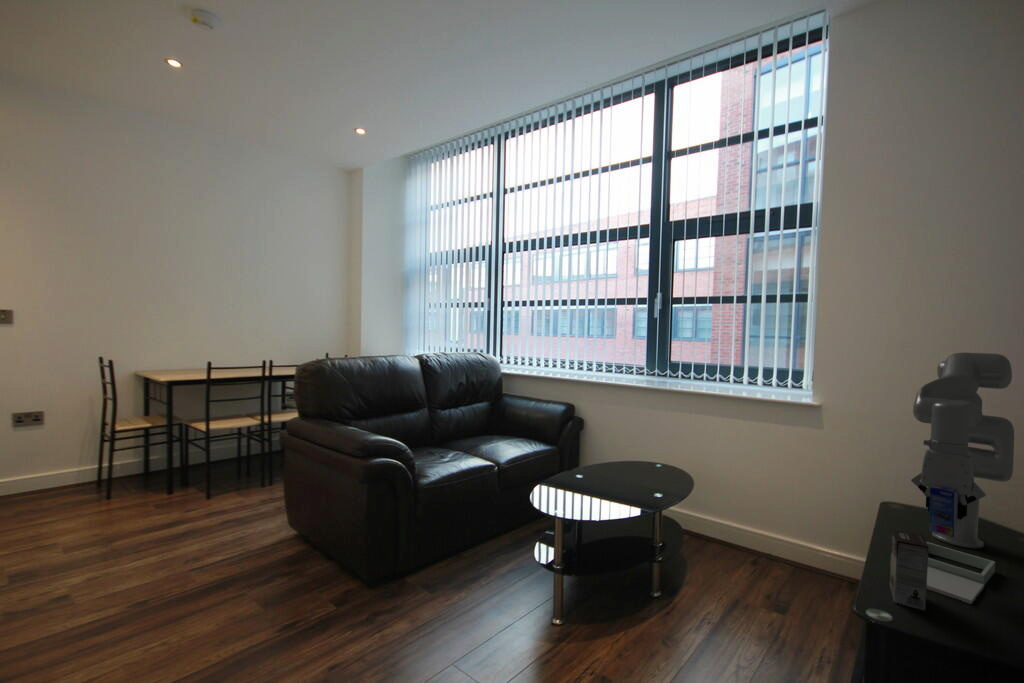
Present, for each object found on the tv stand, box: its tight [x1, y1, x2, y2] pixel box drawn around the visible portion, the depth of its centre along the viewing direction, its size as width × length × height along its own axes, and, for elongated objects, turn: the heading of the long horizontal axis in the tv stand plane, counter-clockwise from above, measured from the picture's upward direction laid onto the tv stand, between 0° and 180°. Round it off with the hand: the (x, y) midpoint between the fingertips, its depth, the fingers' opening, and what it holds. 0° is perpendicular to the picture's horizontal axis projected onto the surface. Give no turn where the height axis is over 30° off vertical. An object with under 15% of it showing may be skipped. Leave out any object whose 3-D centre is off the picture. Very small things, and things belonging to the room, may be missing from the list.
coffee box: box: [889, 528, 929, 611], centre depth 121 cm, size 9×6×16 cm
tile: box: [926, 567, 985, 605], centre depth 129 cm, size 14×14×1 cm
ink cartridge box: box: [928, 486, 962, 537], centre depth 129 cm, size 10×6×14 cm, turn 127°
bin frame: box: [926, 541, 996, 586], centre depth 139 cm, size 15×16×3 cm
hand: (945, 513), depth 129 cm, fingers closed on ink cartridge box, 5 cm apart
